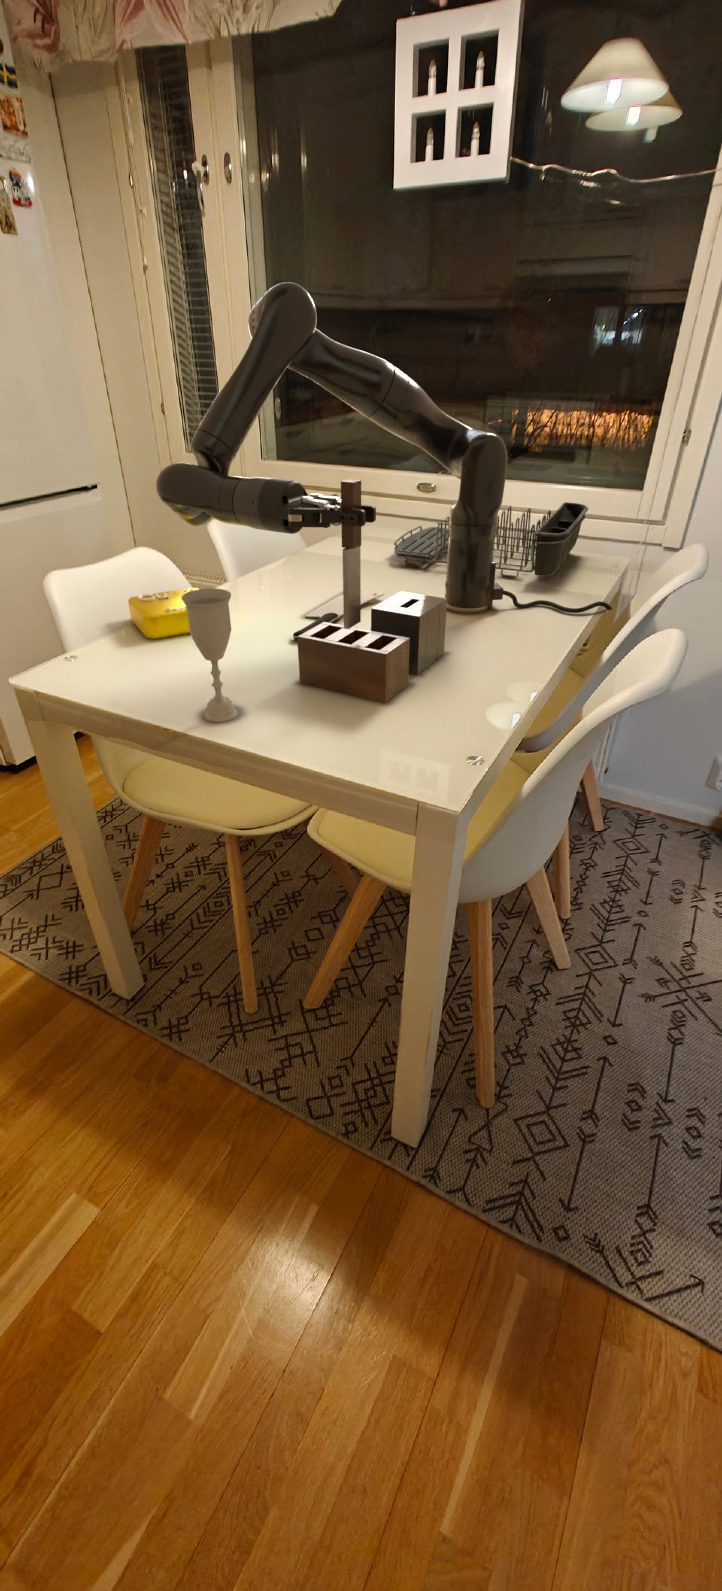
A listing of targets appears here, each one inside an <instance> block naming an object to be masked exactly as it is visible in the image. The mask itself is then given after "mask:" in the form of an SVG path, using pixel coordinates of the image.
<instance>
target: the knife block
mask: <svg viewBox="0 0 722 1591" xmlns="http://www.w3.org/2000/svg"><path fill="white" fill-rule="evenodd" d="M447 610H448V609H447V598H445V597H442V596H441V597H440V596H433V595H427V594H422V593H421V594H420V593H414V592H408V591H403V590H401V591H399V592H397V593H395V594H394V595H392V596H390V597H388V598H387V599H385V600H383V601H381V602H380V603H377V605H374V606H373V607H371V608H370V631H375V632H381V633H386V634H392V635H397V636H402V637H408V638H410V645H409V674H414V675H419V674H420V673H422V672H423V671H424V670H425V669H427V668H428V667H429V666H430V665H431V664H433V663H434V662H435V661H436V660H438V659H439V658H440V657H442V655H444V654H445V643H446V642H445V641H446V628H447V625H446V623H447Z"/></svg>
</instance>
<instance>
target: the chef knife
mask: <svg viewBox="0 0 722 1591" xmlns="http://www.w3.org/2000/svg"><path fill="white" fill-rule="evenodd" d="M340 495H341V508H342V507H345V508H354V509H361V505H362V479H352V478H348V479H345V480H341V481H340ZM340 526H341V548H342V594H343V613H344V614H343V626H344V629H349V628H351V627H355V626H356V625H358V624H360V623H361V621H362V616H361V614H362V613H361V612H362V611H361V610H362V608H361V607H362V606H361V605H362V604H361V592H362V591H361V582H362V581H361V579H362V578H361V576H362V574H361V571H362V570H361V569H362V568H361V547H362V527H358V526H350V525H342V524H341V525H340Z"/></svg>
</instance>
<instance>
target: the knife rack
mask: <svg viewBox="0 0 722 1591" xmlns="http://www.w3.org/2000/svg"><path fill="white" fill-rule="evenodd" d="M297 640H298V641H297ZM297 640H296V641H297V655H298V672H299V684H303V685H307V686H312V687H316V688H320V689H323V690H329V691H333V692H336V693H337V692H338V693H341V694H346V695H350V696H354V697H358V698H363V699H367V700H372V701H376V702H380V703H388V701H390V700H391V699H393V697H395V696H397V694H398V693H400V692H401V691H403V690H404V689H405V688H406V687H407V686H408V685H409V674H410V673H409V645H410V638H408V637H402V636H397V635H392V634H386V633H381V632H375V631H371V629H364V628H360V627H355V626H353V627H351V628H349V629H344V624H337V623H334V622H333V623H327V622H323V623H321V624H319V625H317V626H316V627H314V628H312V629H310V630H308V631H306V632H305V633H303V634H301V635H299V636H297Z"/></svg>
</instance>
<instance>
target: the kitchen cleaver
mask: <svg viewBox="0 0 722 1591" xmlns="http://www.w3.org/2000/svg"><path fill="white" fill-rule="evenodd" d="M383 596H385V593H384V592H379V591H378V592H377V591H361V605H363V604H366V603H368V602H371V601H374V600H375V599H379V598H380V597H383ZM341 616H344V613H343V593H341V594H339V595H337V596H336V597H334V598H332V599H331V600H329V601H327V602H325V603H324V604H322V605H321V606H319V607H317V608H315V609H313V610H312V611H310V612H309V613H307V614H305V617H306V618H318V619H316V620H315V621H313V622H312V623H310V624H307V625H306V626H305V627H303V628H301V629H299V630H297V631H294V633H293V634H292V637H293V639H294V640H295V641H297V642H298V640H297V636H299V635H301V634H303V633H305V632H306V631H308V630H310V629H312V628H314V627H316V626H317V625H319V624H321V623H323V622H327V623H333V624H334V623H335V622H337V621H338V619H339V618H340V617H341Z"/></svg>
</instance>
